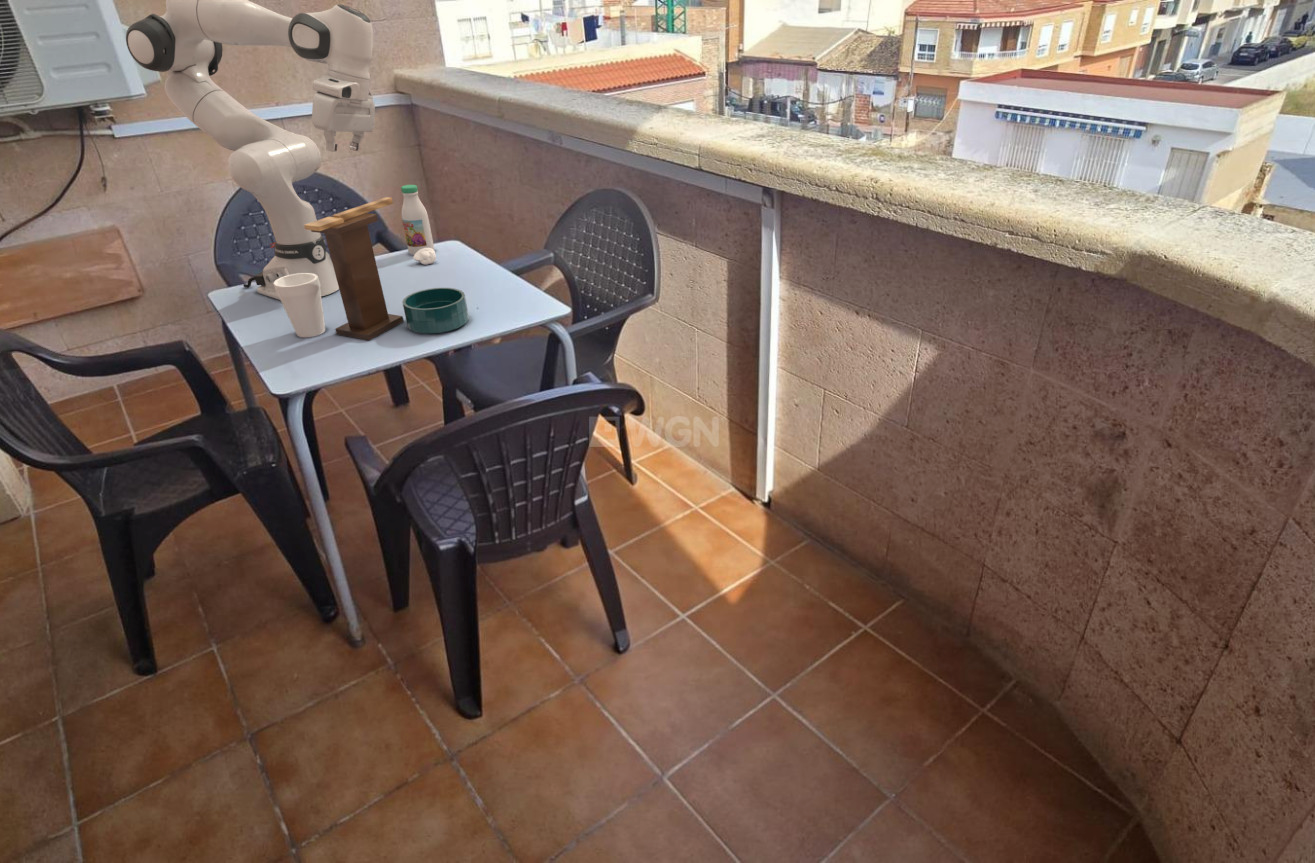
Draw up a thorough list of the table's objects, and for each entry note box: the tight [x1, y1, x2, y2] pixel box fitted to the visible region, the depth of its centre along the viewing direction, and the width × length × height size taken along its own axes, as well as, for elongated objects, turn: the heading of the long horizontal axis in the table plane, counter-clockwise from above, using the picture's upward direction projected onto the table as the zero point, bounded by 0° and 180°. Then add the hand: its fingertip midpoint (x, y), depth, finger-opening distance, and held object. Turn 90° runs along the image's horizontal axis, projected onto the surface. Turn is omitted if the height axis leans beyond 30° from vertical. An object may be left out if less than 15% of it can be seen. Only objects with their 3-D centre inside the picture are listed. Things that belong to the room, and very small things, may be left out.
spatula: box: [304, 196, 394, 231], centre depth 164 cm, size 24×4×1 cm, turn 156°
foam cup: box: [273, 273, 326, 338], centre depth 171 cm, size 10×9×13 cm
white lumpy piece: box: [412, 248, 437, 266], centre depth 217 cm, size 7×5×4 cm
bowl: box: [401, 287, 470, 335], centre depth 175 cm, size 14×14×6 cm
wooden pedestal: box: [311, 212, 405, 341], centre depth 169 cm, size 10×12×26 cm
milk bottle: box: [400, 184, 435, 256], centre depth 221 cm, size 8×8×20 cm
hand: (343, 150), depth 171 cm, fingers open, 8 cm apart
